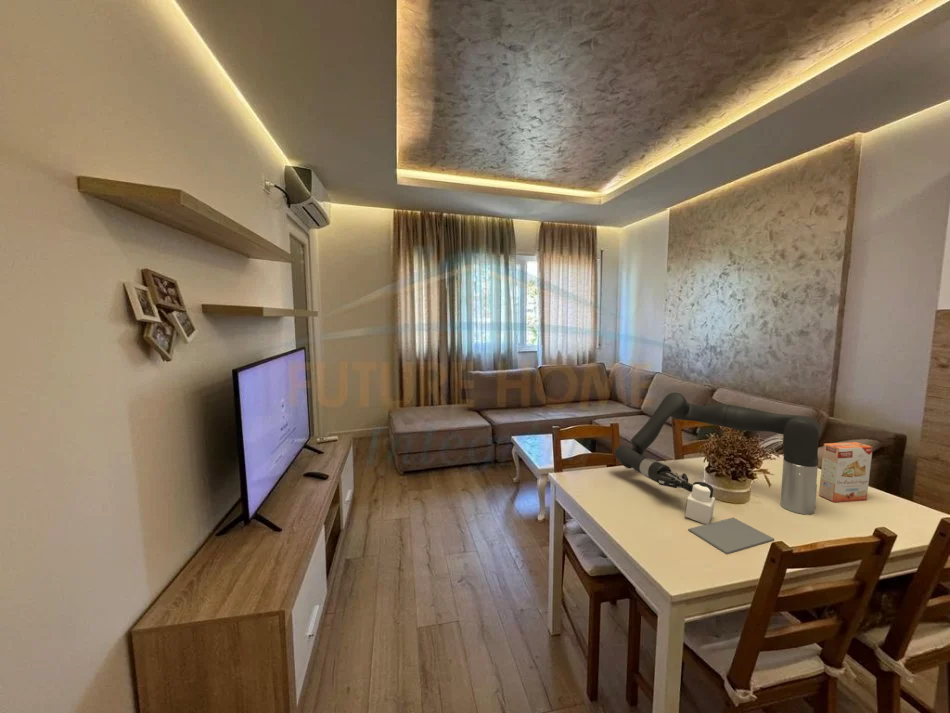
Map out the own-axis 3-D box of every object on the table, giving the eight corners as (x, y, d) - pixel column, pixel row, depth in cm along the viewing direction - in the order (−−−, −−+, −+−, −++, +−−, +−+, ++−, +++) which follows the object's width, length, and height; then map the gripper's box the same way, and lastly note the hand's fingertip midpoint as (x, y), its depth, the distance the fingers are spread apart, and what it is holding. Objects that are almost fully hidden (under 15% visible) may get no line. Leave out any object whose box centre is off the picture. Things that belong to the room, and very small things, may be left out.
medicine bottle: (689, 507, 133) (693, 477, 130) (712, 516, 128) (717, 484, 126) (684, 516, 127) (688, 485, 125) (708, 525, 123) (713, 493, 120)
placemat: (733, 519, 126) (733, 517, 126) (774, 540, 114) (774, 538, 114) (688, 530, 120) (688, 528, 120) (726, 554, 108) (726, 552, 108)
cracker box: (834, 503, 135) (839, 448, 133) (818, 495, 141) (822, 442, 139) (868, 500, 137) (873, 446, 135) (850, 493, 143) (855, 440, 141)
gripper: (641, 463, 144) (678, 481, 127) (668, 459, 148) (707, 475, 131) (641, 482, 144) (677, 502, 128) (667, 477, 148) (706, 496, 132)
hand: (692, 488), depth 130 cm, fingers closed
